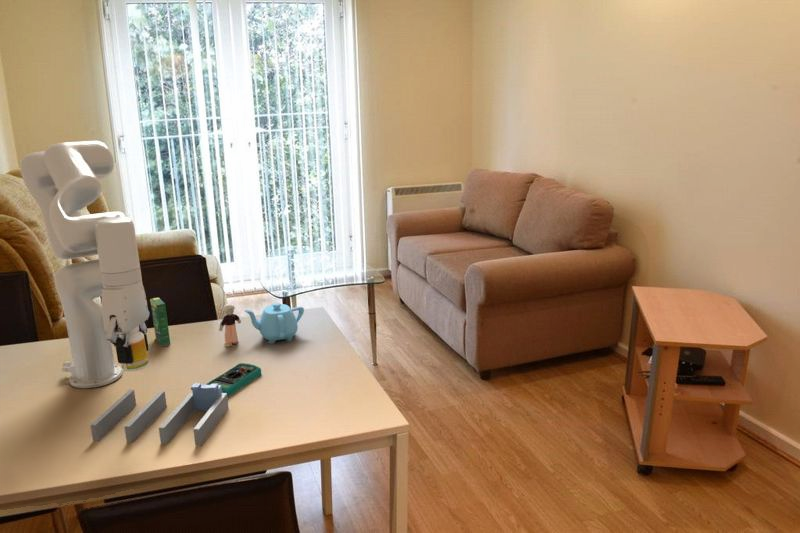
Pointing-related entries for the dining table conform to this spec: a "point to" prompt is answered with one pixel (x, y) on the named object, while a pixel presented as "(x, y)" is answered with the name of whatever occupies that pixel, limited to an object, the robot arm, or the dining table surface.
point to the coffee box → (160, 321)
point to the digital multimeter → (236, 378)
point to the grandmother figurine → (230, 325)
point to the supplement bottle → (136, 351)
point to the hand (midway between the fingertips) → (133, 356)
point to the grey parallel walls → (196, 400)
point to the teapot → (277, 322)
